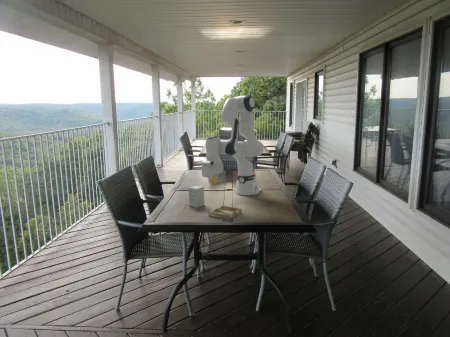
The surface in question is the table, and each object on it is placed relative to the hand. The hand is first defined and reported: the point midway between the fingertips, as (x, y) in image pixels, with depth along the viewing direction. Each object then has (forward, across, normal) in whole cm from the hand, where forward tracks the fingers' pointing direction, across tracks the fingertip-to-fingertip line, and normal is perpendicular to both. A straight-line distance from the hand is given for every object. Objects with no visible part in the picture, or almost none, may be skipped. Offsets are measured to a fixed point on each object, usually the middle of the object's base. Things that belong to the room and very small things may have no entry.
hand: (213, 181), depth 230 cm
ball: (-1, 0, 0) cm, 1 cm away
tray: (+16, +11, +16) cm, 26 cm away
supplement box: (+17, +5, -10) cm, 20 cm away
